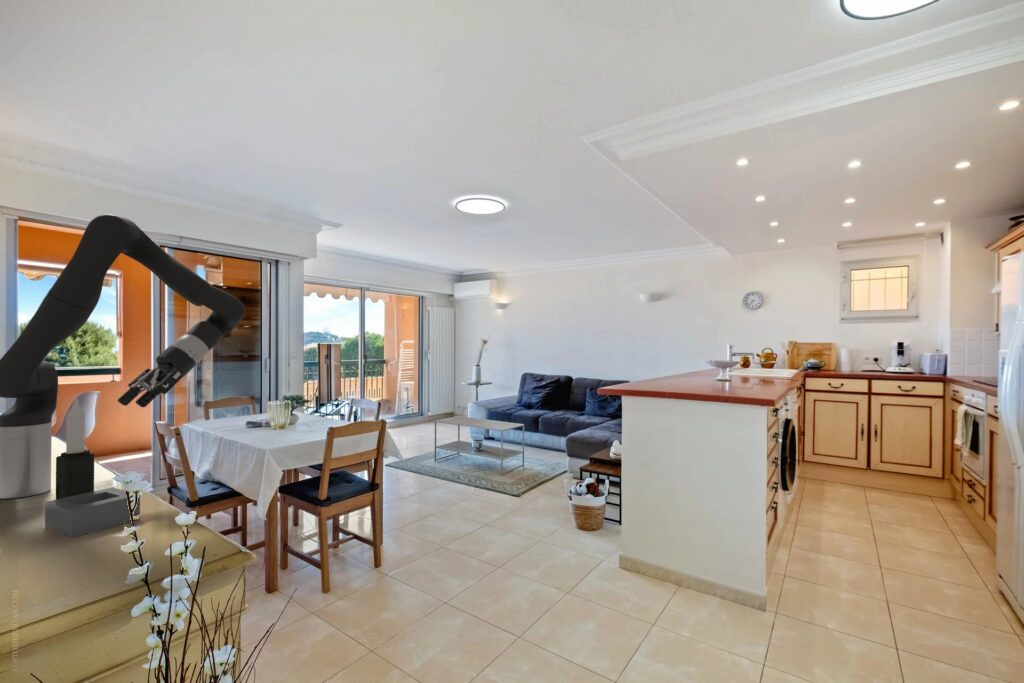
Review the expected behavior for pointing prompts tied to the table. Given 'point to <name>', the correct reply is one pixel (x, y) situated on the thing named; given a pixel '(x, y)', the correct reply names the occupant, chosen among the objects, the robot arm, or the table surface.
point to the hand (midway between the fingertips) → (130, 404)
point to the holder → (88, 512)
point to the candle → (75, 458)
